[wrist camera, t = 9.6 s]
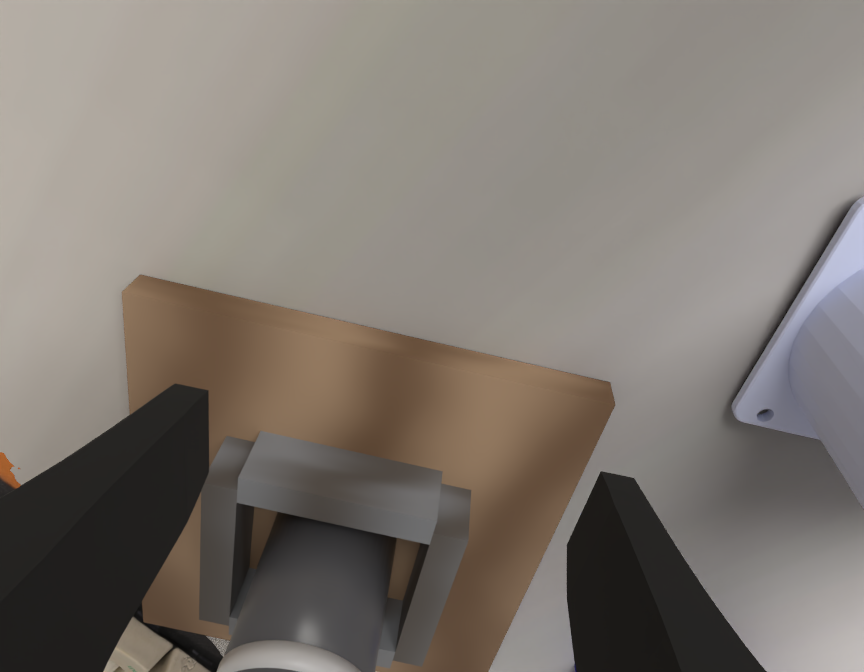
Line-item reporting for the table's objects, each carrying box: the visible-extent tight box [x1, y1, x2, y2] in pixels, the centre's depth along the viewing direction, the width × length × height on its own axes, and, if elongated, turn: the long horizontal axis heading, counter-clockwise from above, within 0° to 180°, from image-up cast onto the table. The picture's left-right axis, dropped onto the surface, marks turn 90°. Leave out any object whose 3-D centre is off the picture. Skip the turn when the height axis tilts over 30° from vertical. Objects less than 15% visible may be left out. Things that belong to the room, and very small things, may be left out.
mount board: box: [122, 275, 615, 672], centre depth 25 cm, size 16×18×4 cm
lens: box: [217, 512, 397, 672], centre depth 22 cm, size 5×5×7 cm
